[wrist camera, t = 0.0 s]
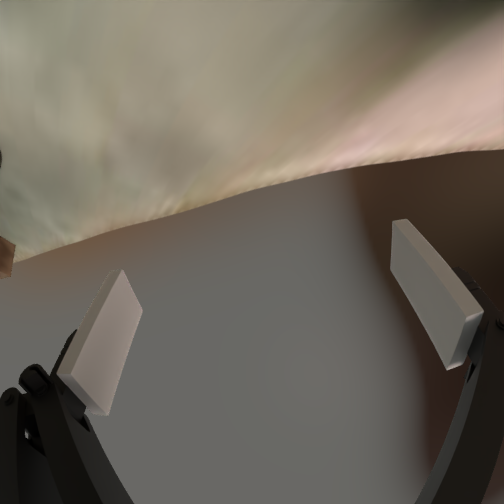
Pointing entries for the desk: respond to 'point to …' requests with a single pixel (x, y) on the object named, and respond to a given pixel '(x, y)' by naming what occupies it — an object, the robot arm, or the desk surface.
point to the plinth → (6, 257)
